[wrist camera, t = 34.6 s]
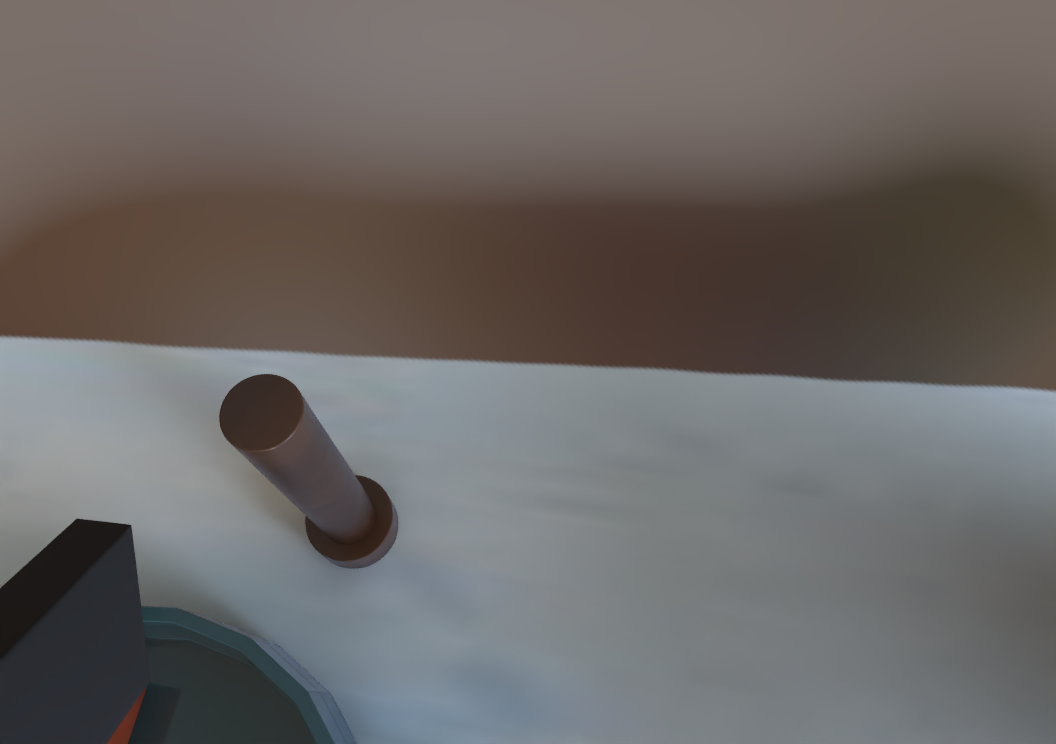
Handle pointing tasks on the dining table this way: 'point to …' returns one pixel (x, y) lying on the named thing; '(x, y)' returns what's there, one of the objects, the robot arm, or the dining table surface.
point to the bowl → (227, 688)
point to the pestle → (309, 470)
